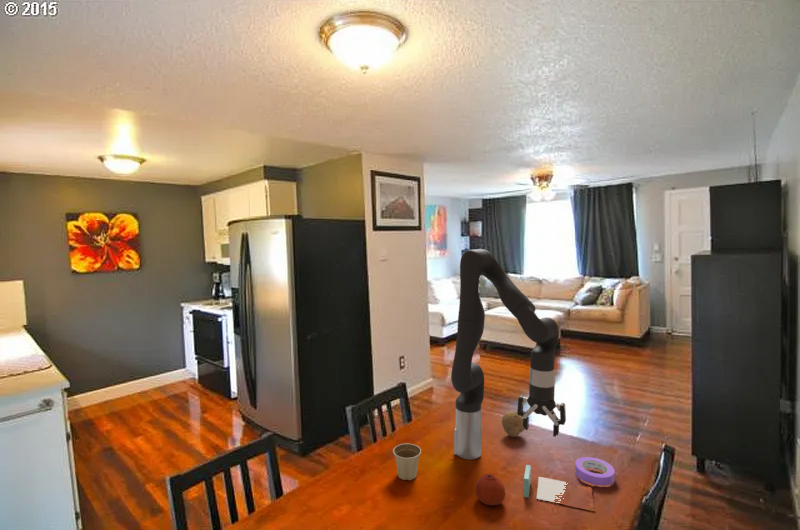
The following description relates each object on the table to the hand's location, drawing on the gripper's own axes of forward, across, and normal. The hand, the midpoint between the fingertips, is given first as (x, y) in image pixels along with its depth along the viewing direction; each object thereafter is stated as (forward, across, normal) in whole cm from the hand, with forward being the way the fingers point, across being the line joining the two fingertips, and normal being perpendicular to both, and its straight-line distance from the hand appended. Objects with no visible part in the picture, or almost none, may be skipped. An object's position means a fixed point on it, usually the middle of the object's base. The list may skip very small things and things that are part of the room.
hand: (540, 432), depth 128 cm
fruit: (+18, -12, -15) cm, 26 cm away
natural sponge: (+18, -16, +29) cm, 38 cm away
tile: (+18, -3, -4) cm, 19 cm away
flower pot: (+18, -40, -15) cm, 46 cm away
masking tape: (+18, +15, +14) cm, 27 cm away
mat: (+18, +8, 0) cm, 19 cm away
